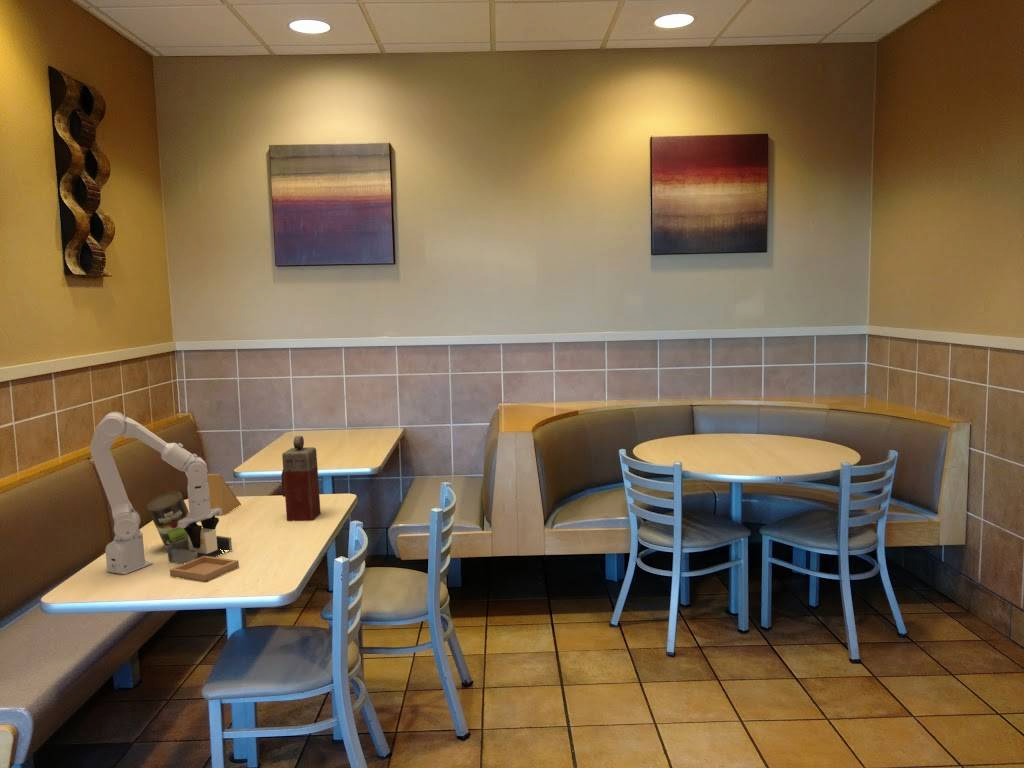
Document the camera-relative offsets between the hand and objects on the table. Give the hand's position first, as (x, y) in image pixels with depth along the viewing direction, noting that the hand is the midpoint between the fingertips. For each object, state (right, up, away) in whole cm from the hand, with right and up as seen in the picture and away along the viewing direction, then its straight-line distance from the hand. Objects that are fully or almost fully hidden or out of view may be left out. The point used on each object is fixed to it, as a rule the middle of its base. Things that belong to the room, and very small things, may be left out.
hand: (202, 545), depth 232 cm
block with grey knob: (0, -2, 0) cm, 2 cm away
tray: (+6, -5, -13) cm, 15 cm away
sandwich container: (-14, +1, +53) cm, 55 cm away
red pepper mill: (+18, +1, +39) cm, 43 cm away
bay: (-1, -3, +1) cm, 4 cm away
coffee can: (-12, -1, +13) cm, 18 cm away
